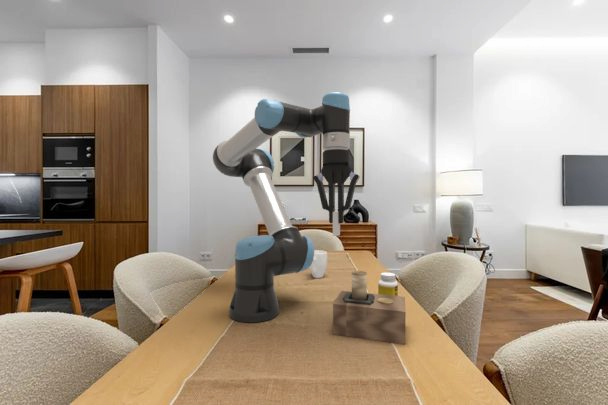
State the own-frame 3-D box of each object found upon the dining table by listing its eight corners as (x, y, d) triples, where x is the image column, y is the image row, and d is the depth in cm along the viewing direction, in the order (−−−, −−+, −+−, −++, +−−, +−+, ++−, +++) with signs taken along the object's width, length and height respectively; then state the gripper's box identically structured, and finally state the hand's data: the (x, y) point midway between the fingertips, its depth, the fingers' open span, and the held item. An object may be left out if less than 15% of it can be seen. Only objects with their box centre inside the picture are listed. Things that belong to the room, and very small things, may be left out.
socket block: (332, 334, 81) (333, 301, 81) (341, 317, 92) (341, 288, 92) (405, 344, 75) (405, 309, 75) (404, 325, 87) (404, 294, 87)
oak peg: (350, 303, 83) (350, 273, 83) (352, 298, 87) (353, 270, 87) (365, 304, 82) (365, 274, 82) (367, 300, 86) (367, 271, 86)
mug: (314, 273, 145) (314, 249, 145) (330, 276, 141) (330, 251, 141) (301, 279, 135) (301, 253, 135) (318, 282, 131) (318, 255, 130)
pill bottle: (398, 311, 97) (398, 276, 97) (378, 310, 98) (378, 275, 98) (396, 305, 103) (397, 272, 103) (377, 303, 104) (378, 271, 104)
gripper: (309, 149, 84) (310, 236, 84) (357, 146, 80) (358, 237, 80) (317, 153, 91) (317, 233, 91) (361, 151, 87) (361, 234, 87)
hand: (336, 235), depth 86 cm, fingers closed
